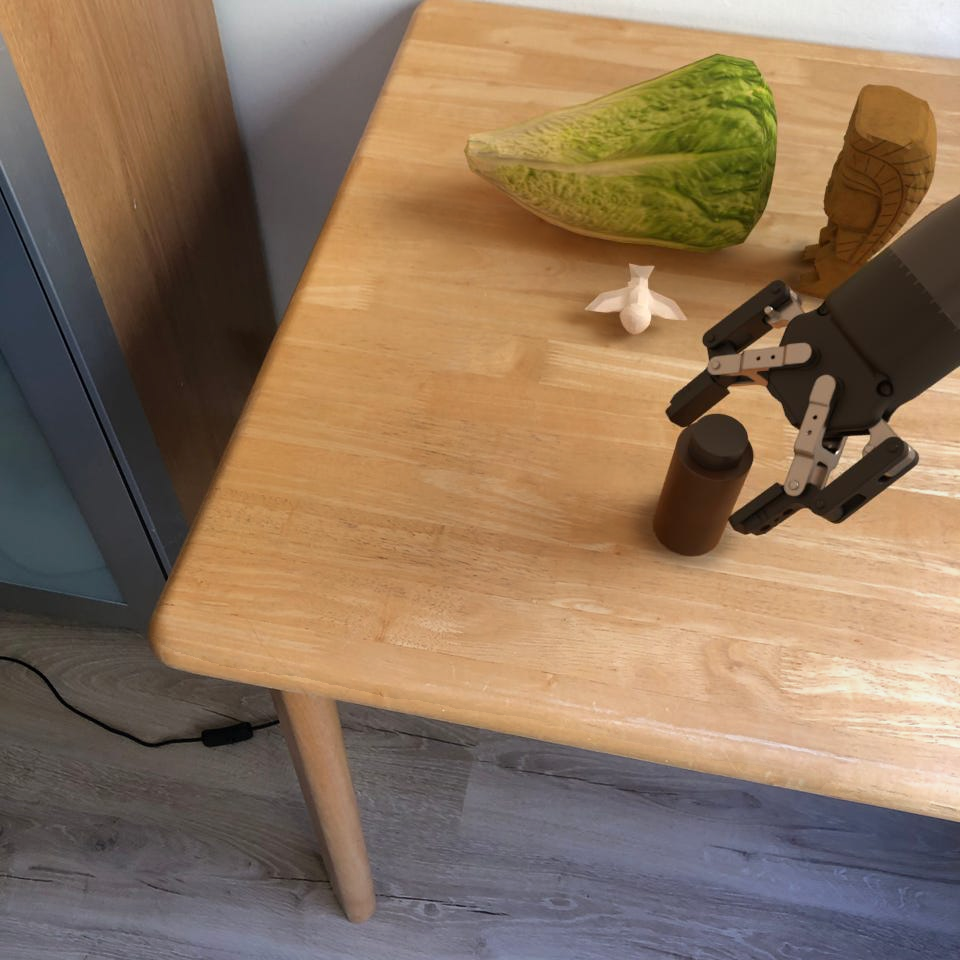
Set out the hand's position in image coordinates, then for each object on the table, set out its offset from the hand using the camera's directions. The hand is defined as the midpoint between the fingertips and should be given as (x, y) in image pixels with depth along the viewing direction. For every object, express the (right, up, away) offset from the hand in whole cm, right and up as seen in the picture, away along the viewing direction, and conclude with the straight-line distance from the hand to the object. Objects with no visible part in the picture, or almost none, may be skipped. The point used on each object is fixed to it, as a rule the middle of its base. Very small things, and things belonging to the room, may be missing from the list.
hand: (704, 472), depth 59 cm
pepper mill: (0, -4, +5) cm, 6 cm away
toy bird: (-2, +12, +16) cm, 20 cm away
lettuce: (-3, +22, +24) cm, 33 cm away
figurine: (+15, +16, +20) cm, 30 cm away
